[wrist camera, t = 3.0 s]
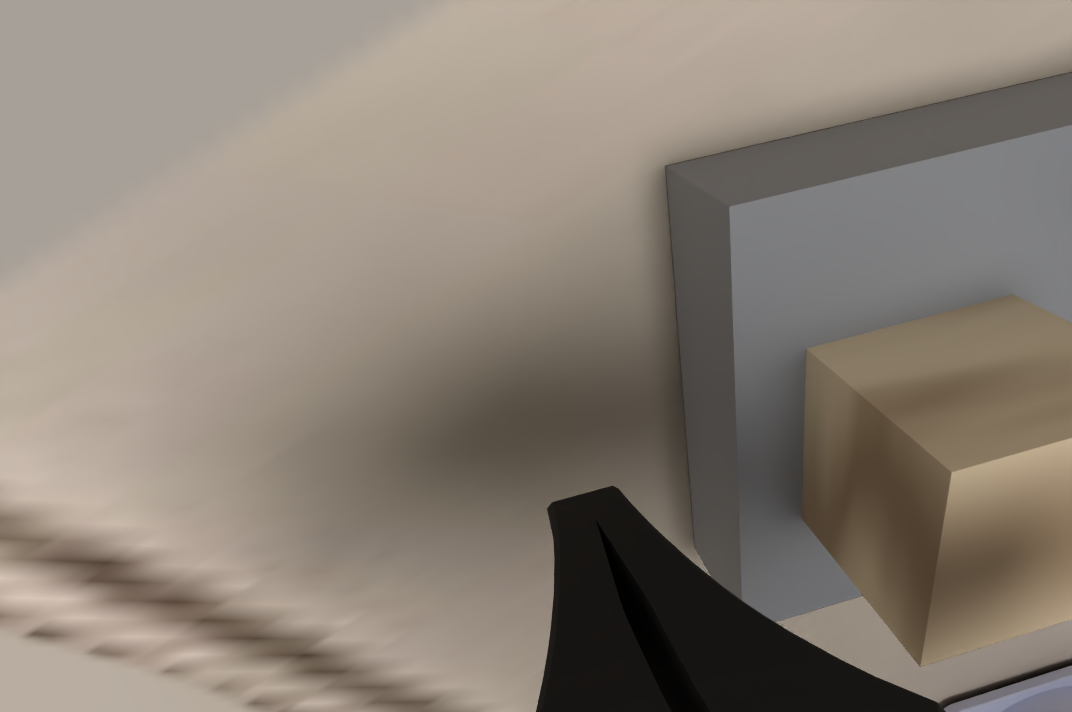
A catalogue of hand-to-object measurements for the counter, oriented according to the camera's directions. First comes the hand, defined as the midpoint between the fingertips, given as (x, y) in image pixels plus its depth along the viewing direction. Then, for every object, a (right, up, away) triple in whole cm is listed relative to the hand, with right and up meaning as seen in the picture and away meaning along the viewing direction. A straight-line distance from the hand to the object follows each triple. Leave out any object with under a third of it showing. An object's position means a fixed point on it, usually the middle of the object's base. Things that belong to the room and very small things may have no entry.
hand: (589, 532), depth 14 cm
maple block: (+7, +2, +2) cm, 7 cm away
